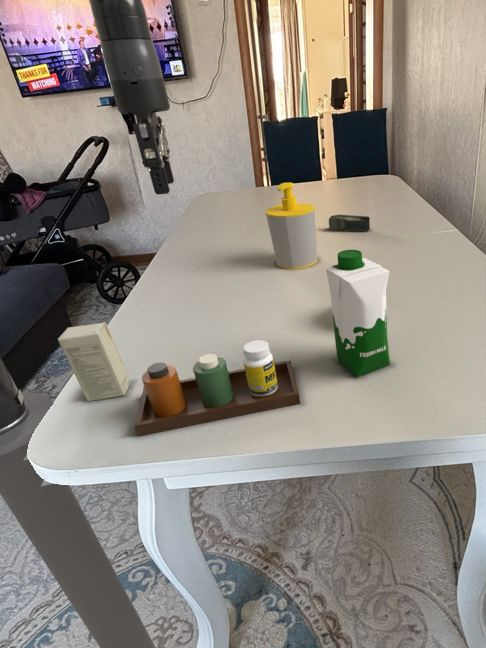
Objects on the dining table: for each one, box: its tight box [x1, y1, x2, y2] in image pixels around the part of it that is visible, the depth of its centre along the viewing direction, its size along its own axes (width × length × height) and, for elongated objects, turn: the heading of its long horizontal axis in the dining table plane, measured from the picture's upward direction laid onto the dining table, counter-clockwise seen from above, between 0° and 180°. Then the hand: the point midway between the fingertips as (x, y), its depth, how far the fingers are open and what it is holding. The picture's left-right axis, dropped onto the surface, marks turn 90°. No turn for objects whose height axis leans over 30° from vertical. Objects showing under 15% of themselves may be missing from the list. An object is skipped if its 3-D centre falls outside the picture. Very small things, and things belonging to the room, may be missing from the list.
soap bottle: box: [265, 182, 318, 270], centre depth 127 cm, size 13×13×21 cm
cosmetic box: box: [57, 321, 131, 402], centre depth 78 cm, size 6×4×12 cm
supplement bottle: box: [242, 339, 278, 397], centre depth 76 cm, size 5×5×8 cm
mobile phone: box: [324, 214, 371, 232], centre depth 154 cm, size 5×3×15 cm
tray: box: [134, 359, 301, 437], centre depth 77 cm, size 25×11×2 cm, turn 105°
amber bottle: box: [141, 362, 186, 417], centre depth 73 cm, size 5×5×8 cm
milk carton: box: [325, 249, 391, 378], centre depth 80 cm, size 9×9×20 cm
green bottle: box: [192, 353, 234, 407], centre depth 75 cm, size 5×5×8 cm
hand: (165, 188), depth 79 cm, fingers open, 8 cm apart
